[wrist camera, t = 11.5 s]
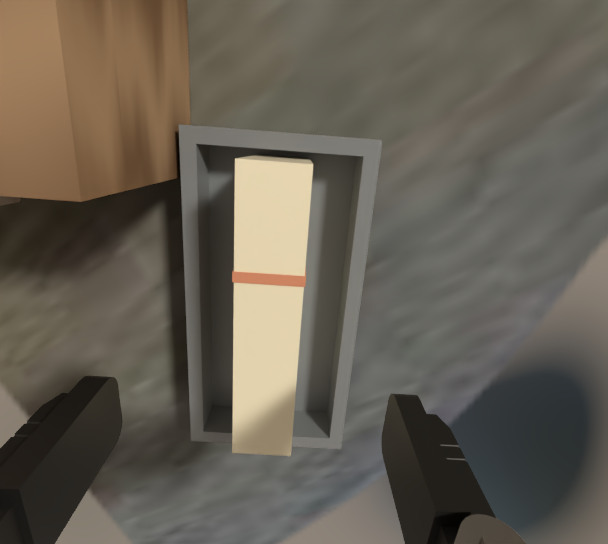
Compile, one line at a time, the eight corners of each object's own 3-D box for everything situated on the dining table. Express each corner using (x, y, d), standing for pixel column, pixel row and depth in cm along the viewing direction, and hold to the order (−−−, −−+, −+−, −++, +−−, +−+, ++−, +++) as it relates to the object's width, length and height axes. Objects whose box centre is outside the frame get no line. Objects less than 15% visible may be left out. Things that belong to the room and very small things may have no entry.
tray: (196, 127, 17) (178, 124, 15) (370, 141, 17) (382, 140, 15) (203, 407, 23) (190, 441, 20) (336, 415, 23) (340, 449, 20)
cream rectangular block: (256, 154, 17) (233, 158, 11) (310, 158, 17) (314, 164, 11) (250, 370, 21) (231, 453, 15) (294, 372, 21) (292, 456, 15)
